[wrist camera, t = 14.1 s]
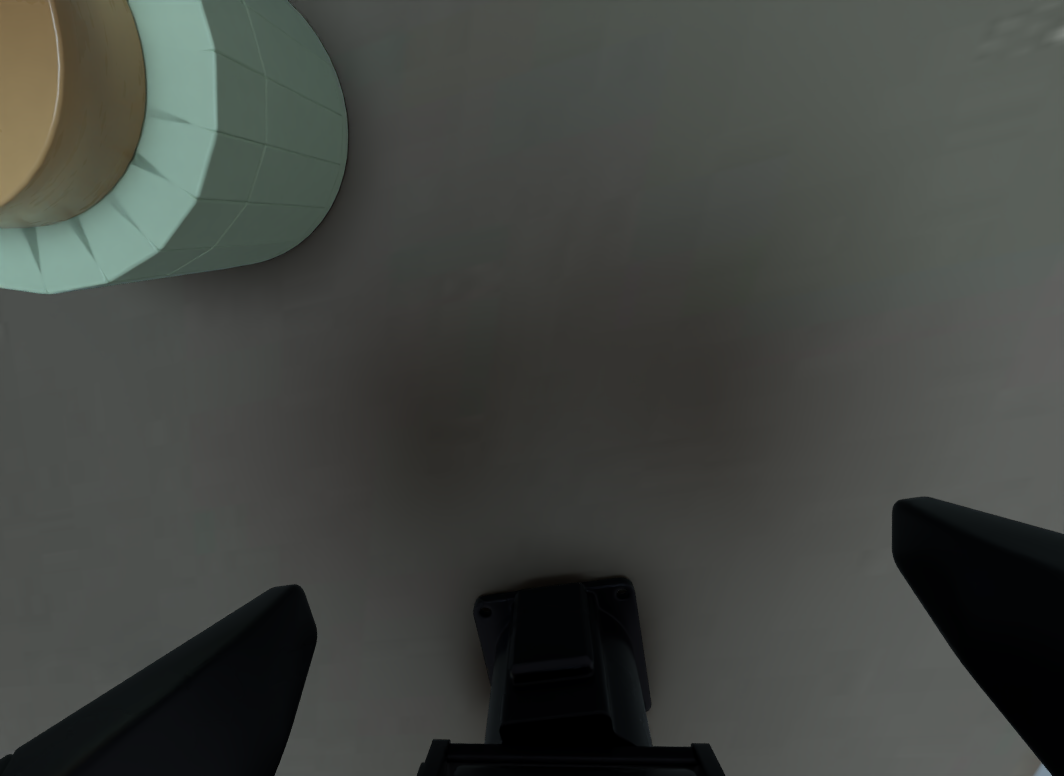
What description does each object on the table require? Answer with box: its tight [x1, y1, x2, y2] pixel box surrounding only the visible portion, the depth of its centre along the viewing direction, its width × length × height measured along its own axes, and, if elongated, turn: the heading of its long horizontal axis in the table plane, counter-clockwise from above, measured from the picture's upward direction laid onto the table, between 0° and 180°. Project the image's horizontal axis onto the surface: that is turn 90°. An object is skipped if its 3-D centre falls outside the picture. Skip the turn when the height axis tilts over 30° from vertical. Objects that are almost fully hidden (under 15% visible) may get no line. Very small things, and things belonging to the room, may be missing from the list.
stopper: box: [0, 0, 146, 228], centre depth 12 cm, size 6×6×6 cm
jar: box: [0, 0, 348, 294], centre depth 14 cm, size 9×9×8 cm
